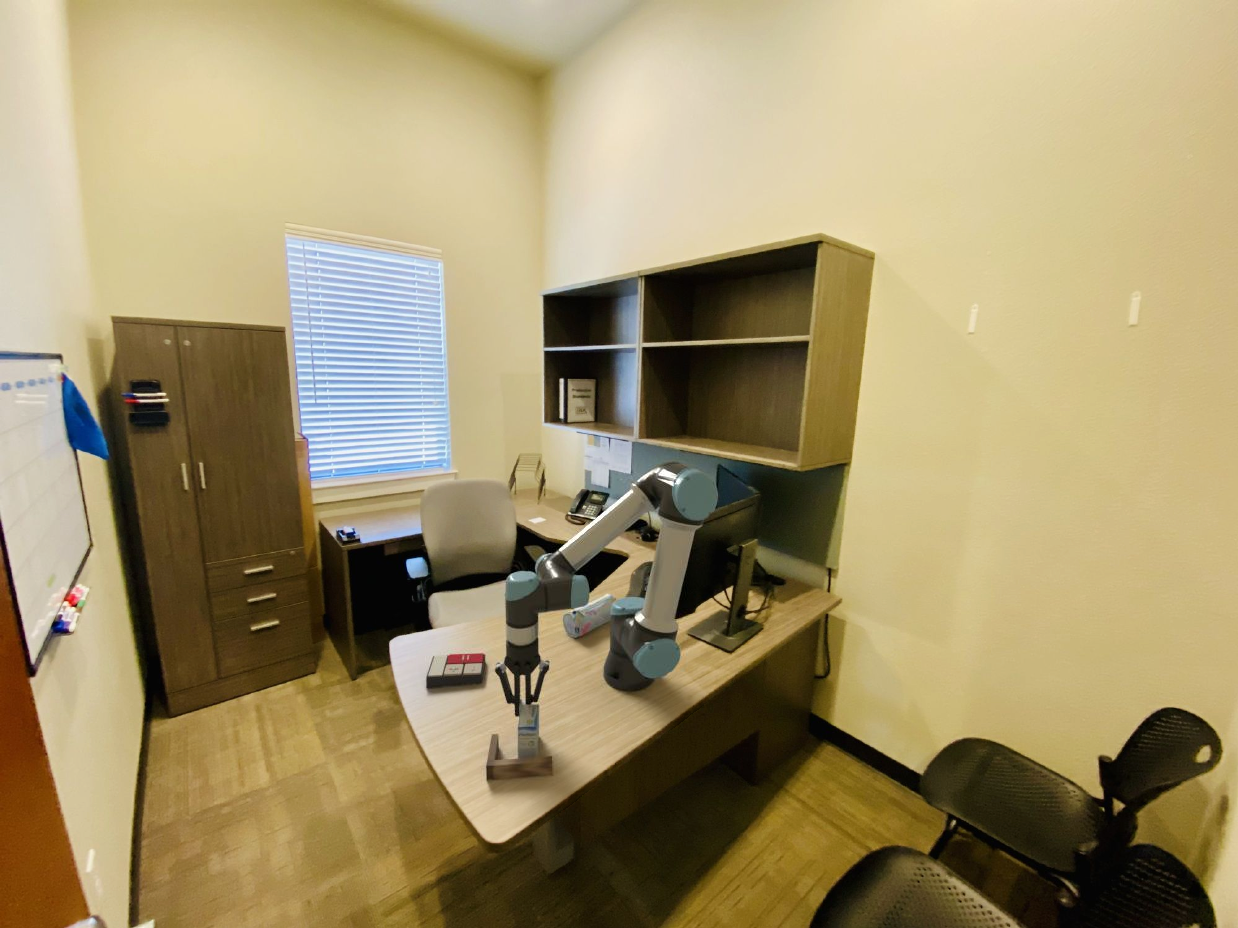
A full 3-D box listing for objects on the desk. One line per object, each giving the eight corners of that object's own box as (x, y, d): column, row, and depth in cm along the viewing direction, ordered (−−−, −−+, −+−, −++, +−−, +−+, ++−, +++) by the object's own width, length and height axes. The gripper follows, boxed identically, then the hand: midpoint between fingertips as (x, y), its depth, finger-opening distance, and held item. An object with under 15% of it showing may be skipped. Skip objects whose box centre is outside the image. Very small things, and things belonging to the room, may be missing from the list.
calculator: (482, 672, 138) (425, 675, 135) (482, 686, 138) (425, 689, 135) (485, 651, 148) (433, 653, 145) (485, 664, 149) (433, 666, 146)
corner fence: (552, 743, 116) (552, 729, 116) (552, 775, 107) (552, 761, 107) (492, 747, 115) (491, 734, 114) (486, 780, 105) (486, 765, 105)
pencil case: (576, 642, 160) (577, 616, 159) (559, 632, 166) (559, 606, 165) (621, 621, 175) (621, 596, 174) (603, 612, 181) (604, 588, 180)
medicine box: (520, 736, 118) (520, 704, 117) (539, 735, 119) (539, 703, 117) (517, 761, 111) (517, 727, 109) (537, 760, 111) (537, 726, 110)
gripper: (550, 628, 120) (550, 714, 124) (495, 630, 118) (497, 717, 123) (549, 644, 113) (549, 735, 117) (491, 647, 111) (493, 739, 115)
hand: (523, 726), depth 120 cm, fingers closed
